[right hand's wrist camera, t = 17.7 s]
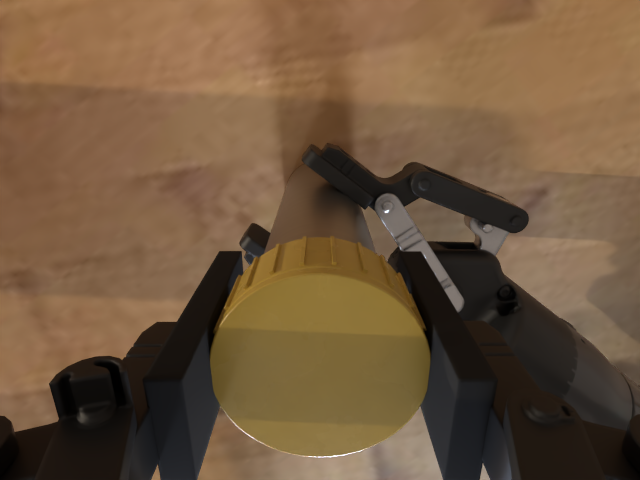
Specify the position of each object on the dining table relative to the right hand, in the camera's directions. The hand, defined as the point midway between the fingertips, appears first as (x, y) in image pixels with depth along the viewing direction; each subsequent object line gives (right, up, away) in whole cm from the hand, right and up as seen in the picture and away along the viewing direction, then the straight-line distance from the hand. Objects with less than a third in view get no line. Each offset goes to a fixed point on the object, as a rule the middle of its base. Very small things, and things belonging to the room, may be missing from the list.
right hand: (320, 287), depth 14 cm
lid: (0, -2, -4) cm, 4 cm away
